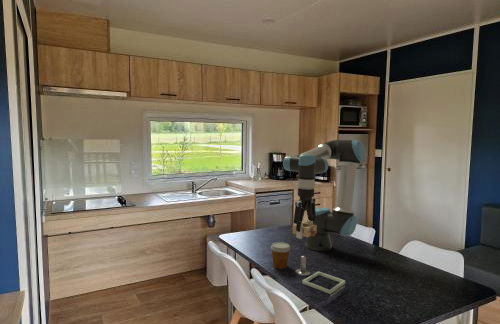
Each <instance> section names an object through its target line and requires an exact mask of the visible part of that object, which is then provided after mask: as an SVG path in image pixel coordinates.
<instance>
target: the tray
mask: <svg viewBox="0 0 500 324" xmlns="http://www.w3.org/2000/svg"><path fill="white" fill-rule="evenodd" d="M318 276H321V277H323V278H326V279H329V280H332V281H334V282H337V283H338V284H336V285H334V286H333V287H331V288H330V289H328V288H326V287H323V286H321V285H318V284H315V283H313V282H310V281H312V280H313V279H314V278H317V277H318ZM301 282H302V283H301V284H303V285H305V286H308V287H311V288H313V289H316V290H319V291H321V292H323V293H326V294H329V296H328V298H332V297H333V296H334V295H336V294H337V293H339V292H340V291H341V290H343V289H344V288H346V280H345V279H342V278H340V277H335V276H333V275H331V274H327V273H324V272H321V271H316V272H315V273H313V274H311V275H308V277H306V278H304V279H302V281H301Z"/></svg>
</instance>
